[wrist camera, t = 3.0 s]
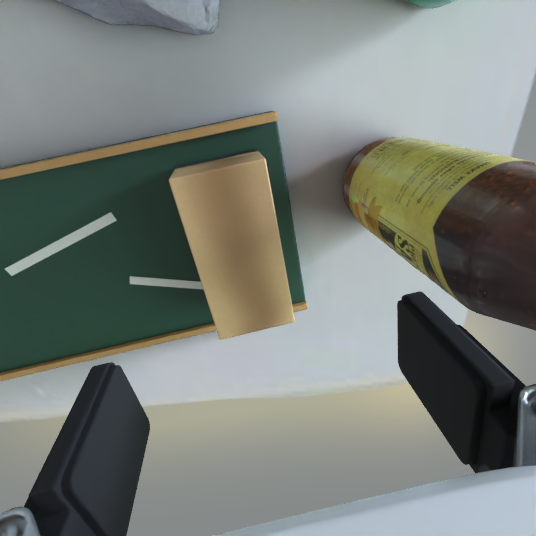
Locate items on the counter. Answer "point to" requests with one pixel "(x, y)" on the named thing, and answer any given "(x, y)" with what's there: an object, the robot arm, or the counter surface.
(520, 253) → the sauce bottle
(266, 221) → the eraser
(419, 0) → the soda can
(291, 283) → the chalkboard
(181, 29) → the stone block
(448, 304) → the counter surface
